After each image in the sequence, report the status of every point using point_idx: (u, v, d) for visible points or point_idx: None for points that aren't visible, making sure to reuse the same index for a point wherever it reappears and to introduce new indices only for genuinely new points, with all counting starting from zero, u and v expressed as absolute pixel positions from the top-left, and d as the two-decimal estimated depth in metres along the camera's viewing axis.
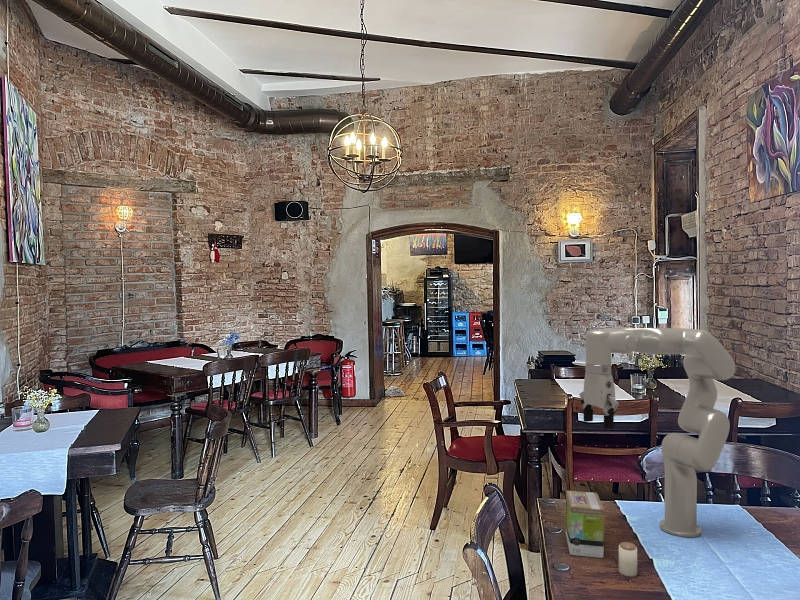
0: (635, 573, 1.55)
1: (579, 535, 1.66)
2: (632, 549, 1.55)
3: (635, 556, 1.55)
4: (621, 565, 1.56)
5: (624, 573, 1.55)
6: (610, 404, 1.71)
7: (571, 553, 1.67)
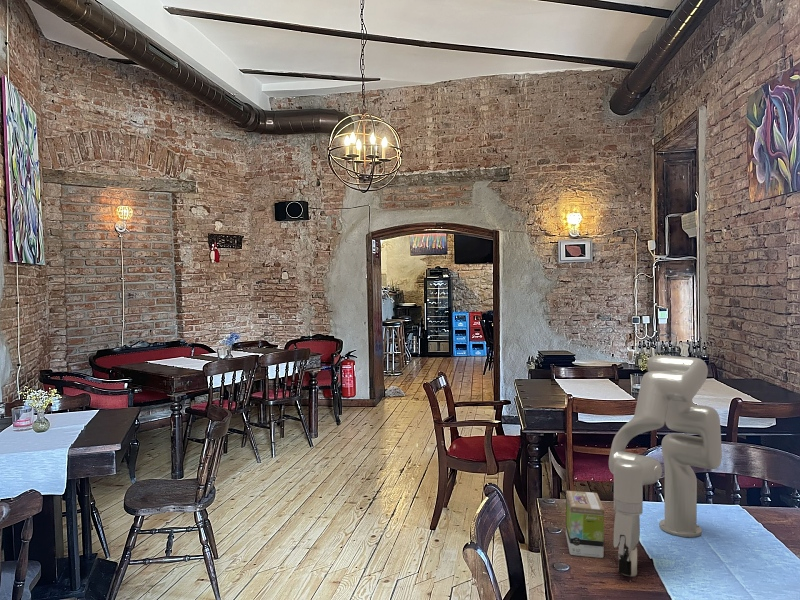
0: (635, 573, 1.55)
1: (579, 535, 1.66)
2: None
3: (635, 556, 1.55)
4: None
5: None
6: None
7: (571, 553, 1.67)
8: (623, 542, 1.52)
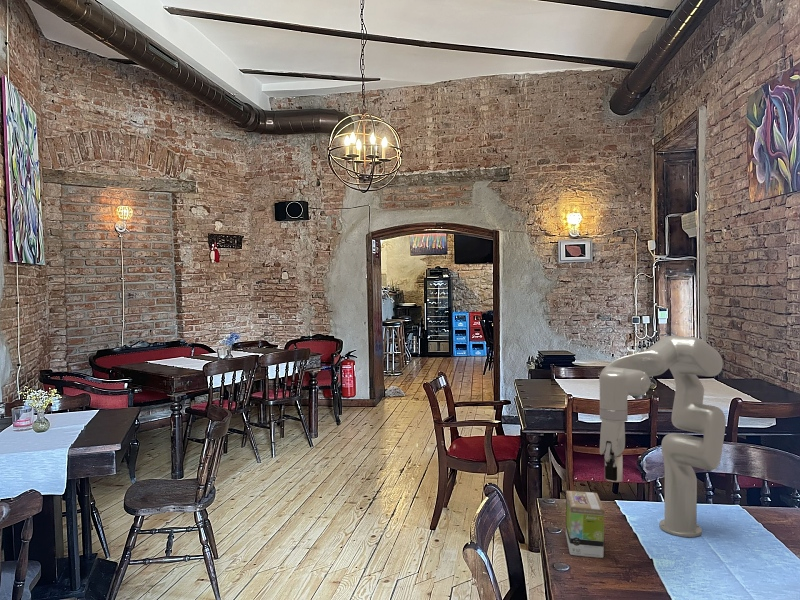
0: (621, 479, 1.60)
1: (579, 535, 1.66)
2: (618, 456, 1.60)
3: (620, 462, 1.60)
4: None
5: None
6: None
7: (571, 553, 1.67)
8: (609, 448, 1.57)
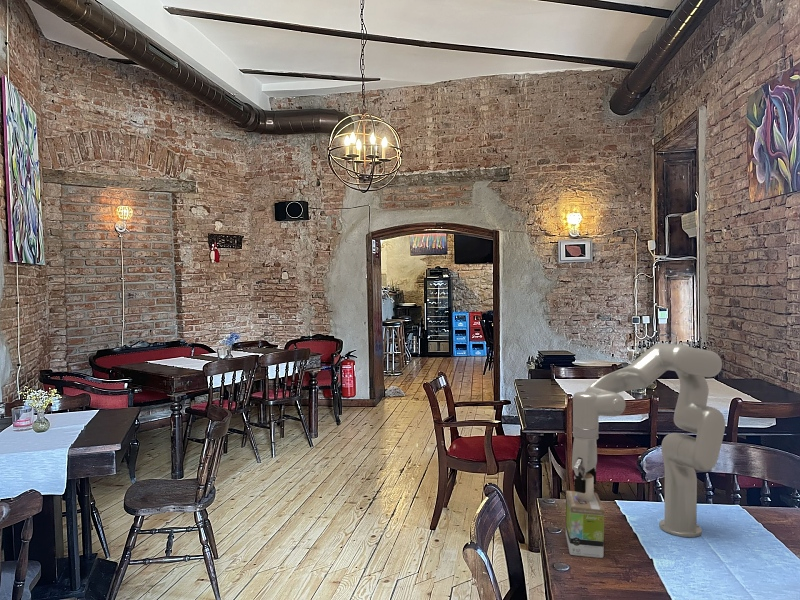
0: (591, 499, 1.71)
1: (579, 535, 1.66)
2: (589, 477, 1.71)
3: (591, 483, 1.71)
4: (579, 492, 1.72)
5: (581, 499, 1.71)
6: None
7: (571, 553, 1.67)
8: (579, 461, 1.68)
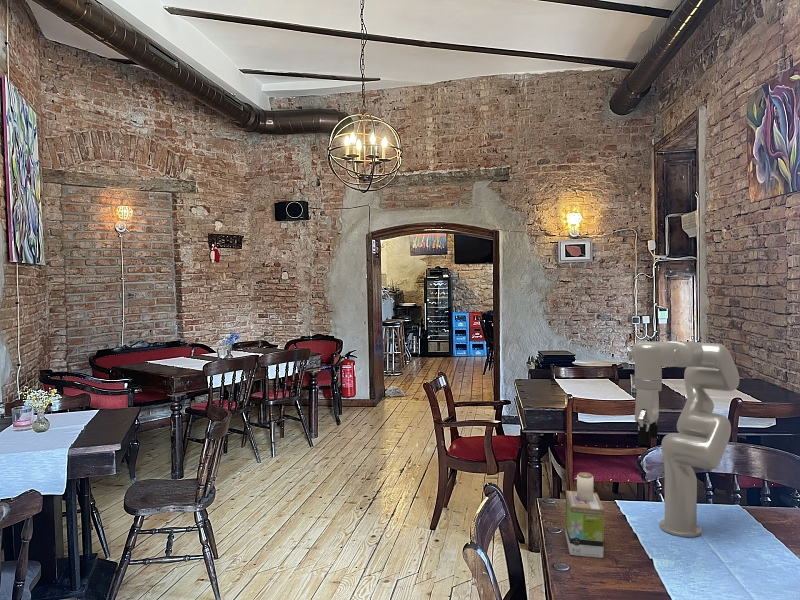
0: (591, 499, 1.71)
1: (579, 535, 1.66)
2: (588, 477, 1.71)
3: (591, 483, 1.71)
4: (579, 492, 1.72)
5: (581, 499, 1.71)
6: None
7: (571, 553, 1.67)
8: (644, 412, 1.65)
